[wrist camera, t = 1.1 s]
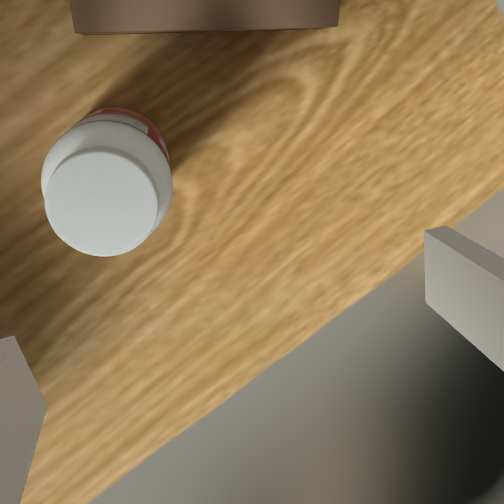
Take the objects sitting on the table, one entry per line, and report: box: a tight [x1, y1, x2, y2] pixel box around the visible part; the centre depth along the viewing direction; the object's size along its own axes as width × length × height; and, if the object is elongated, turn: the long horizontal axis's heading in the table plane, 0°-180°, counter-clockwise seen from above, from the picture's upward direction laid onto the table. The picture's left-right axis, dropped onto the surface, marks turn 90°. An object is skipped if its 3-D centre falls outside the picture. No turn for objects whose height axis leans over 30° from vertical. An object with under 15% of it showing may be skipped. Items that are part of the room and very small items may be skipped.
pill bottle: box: [41, 107, 173, 256], centre depth 25 cm, size 6×6×11 cm
